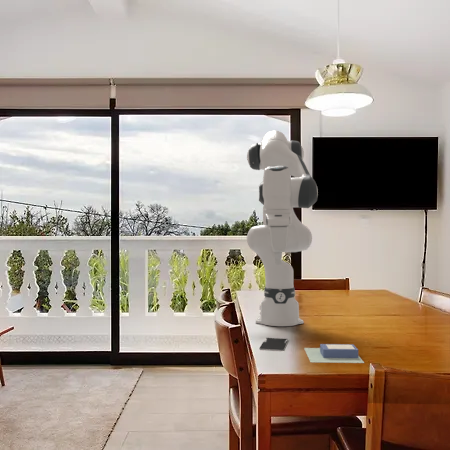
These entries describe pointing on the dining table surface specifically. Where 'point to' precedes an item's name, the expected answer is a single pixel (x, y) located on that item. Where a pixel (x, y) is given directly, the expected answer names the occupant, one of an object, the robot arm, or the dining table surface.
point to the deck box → (338, 351)
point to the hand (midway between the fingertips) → (278, 264)
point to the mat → (316, 356)
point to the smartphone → (274, 344)
